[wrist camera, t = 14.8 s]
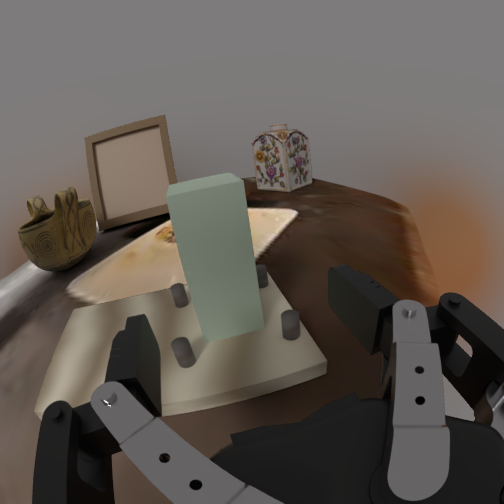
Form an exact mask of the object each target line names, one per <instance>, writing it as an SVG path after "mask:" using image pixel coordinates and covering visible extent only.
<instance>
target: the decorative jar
mask: <svg viewBox="0 0 504 504" xmlns="http://www.w3.org/2000/svg"><path fill="white" fill-rule="evenodd" d="M252 148H253V158H254V167H255V174H256V181H257V187H258V190H268V191H279V192H292V191H294V190H297V189H300V188H303V187H305V186H308V185H311V184H312V168H311V158H310V150H309V141H308V138H307V137H306V136H305V135H304V134H303V133H302V132H301V131H299V130H288V129H287V124H275V125H270V132H263V133H260V134H259V135H258V136H257V137H256V138H255V140H254V141H253V143H252Z"/></svg>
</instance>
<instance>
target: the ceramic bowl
mask: <svg viewBox="0 0 504 504" xmlns="http://www.w3.org/2000/svg"><path fill="white" fill-rule="evenodd" d="M54 201H55V208H54V209H48V208H47V206H46V204H45V202H44V200H43V199H42V197H41V196H40V195H38V196H35V197H33V198H31V199H28V200H27V206H28V210H29V213H30V215H31V220H30V221H28V222H26V223H25V224H24V225H22V226H20V227H19V228H18V234H19V238H20V241H21V244H22V247H23V249H24V251H25V253H26V255H27V256H28V258H29V259H30V261H31V262H32V263H33V264H34V265H36V266H37V267H39V268H41V269H43V270H46V271H63V270H66V269H68V268H71V267H72V266H74V265H76V264H77V263H78V262H80V261H81V260H82V259H83V258H84V257H85V255H86V254H87V253H88V252H89V250H90V249H91V247H92V245H93V243H94V241H95V237H96V219H95V214H94V210H93V207H92V205H91V202H90V200H89V199H81V200H78V197H77V193H76V190H75V189H74V188H73V187H69V188H66V189H64V190H62V191H60V192H58V193H56V194H55V200H54Z"/></svg>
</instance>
